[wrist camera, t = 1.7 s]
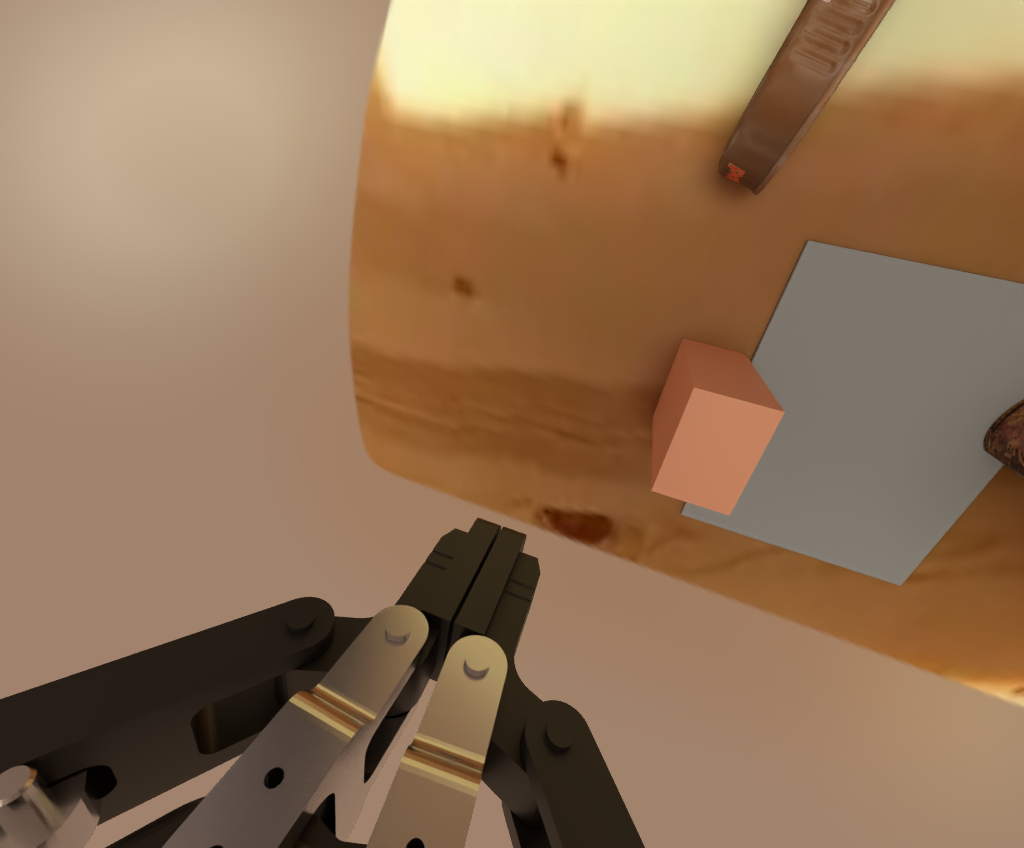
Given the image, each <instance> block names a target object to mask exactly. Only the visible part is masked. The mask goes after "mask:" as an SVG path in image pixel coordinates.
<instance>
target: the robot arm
mask: <svg viewBox="0 0 1024 848" xmlns="http://www.w3.org/2000/svg"><path fill="white" fill-rule="evenodd" d="M525 540H526V534H523V533H520V532H517V531H515V530H512V529H509V528H506V527H503V528H502V530H501V526H500V525H497V524H495V523H492V522H489V521H486V520H483V519H480V518H477V519H476V521H475V522H474V524H473V526H472V527H471V529H470V531H469V532H468V533H467V532H464V531H461V530H459V529H454V530H452V531H451V532H449V533H447V534H446V535H444V536H443V537H441V539H440V540H439V542H438V543H437V545H436V546H435V547H434V549H433V551H432V552H431V553H430V555H429V556H428V558H427V559H426V562H425V563H424V564H423V565H422V566H421V568H420V569H419V571H418V572H417V574H416V576H415V577H414V578H413V580H412V581H411V583H410V584H409V586H408V587H407V589H406V590H405V591H404V593H403V594H402V596H401V597H400V599H399V600H398V602H397V603H396V604H395V605H394V606H391V607H388V608H385V609H383V610H381V611H380V612H379V613H377V614H376V615H375V616H374V617H370V618H349V617H335V616H334V611H333V609H332V607H331V606H330V604H329V603H327V602H326V601H324V600H322V599H320V598H316V597H303V598H298V599H294V600H291V601H288V602H286V603H283V604H280V605H277V606H274V607H271V608H268V609H265V610H262V611H259V612H256V613H253V614H250V615H247V616H244V617H241V618H238V619H235V620H233V621H230V622H227V623H224V624H221V625H218V626H215V627H212V628H209V629H206V630H203V631H200V632H198V633H194V634H191V635H188V636H185V637H182V638H180V639H177V640H174V641H171V642H168V643H165V644H162V645H159V646H156V647H153V648H150V649H147V650H144V651H141V652H138V653H135V654H132V655H130V656H127V657H124V658H121V659H118V660H115V661H112V662H109V663H106V664H103V665H100V666H97V667H95V668H91V669H88V670H86V671H82V672H80V673H76V674H74V675H71V676H68V677H65V678H62V679H59V680H56V681H53V682H50V683H47V684H44V685H41V686H39V687H35V688H32V689H29V690H26V691H23V692H21V693H18V694H15V695H12V696H9V697H6V698H3V699H0V848H83V847H84V846H85V845H86V843H87V842H88V841H89V839H90V838H91V836H92V834H93V832H94V830H95V828H96V826H98V825H99V824H102V823H104V822H105V821H108V820H110V819H112V818H113V817H116V816H118V815H120V814H121V813H124V812H126V811H128V810H130V809H132V808H134V807H136V806H138V805H140V804H142V803H144V802H146V801H148V800H150V799H152V798H154V797H156V796H158V795H160V794H162V793H164V792H166V791H168V790H170V789H172V788H174V787H176V786H178V785H180V784H182V783H184V782H186V781H188V780H190V779H192V778H194V777H196V776H198V775H200V774H202V773H204V772H206V771H209V770H211V769H213V768H214V767H217V766H219V765H221V764H223V763H225V762H227V761H229V760H231V759H232V758H235V757H237V756H239V755H241V754H242V755H241V756H240V757H239V758H238V760H237V761H236V762H235V763H234V764H233V766H232V767H231V768H230V769H229V770H228V771H227V772H226V774H225V775H224V776H223V777H222V778H221V779H220V781H219V782H218V783H217V784H216V785H215V786H214V787H213V789H212V790H211V791H210V792H209V793H208V794H207V796H205V797H202V798H199V799H197V800H194V801H192V802H189V803H187V804H185V805H183V806H181V807H179V808H177V809H175V810H173V811H171V812H169V813H167V814H166V815H164V816H162V817H160V818H158V819H156V820H155V821H153V822H151V823H149V824H147V825H146V826H144V827H142V828H140V829H139V830H137V831H135V832H133V833H131V834H129V835H127V836H126V837H124V838H122V839H120V840H118V841H117V842H115V843H113V844H111V845H110V846H107V847H106V848H464V846H465V842H466V838H467V834H468V830H469V826H470V822H471V818H472V814H473V810H474V806H475V802H476V797H477V793H478V789H479V785H480V781H481V779H482V780H483V781H484V782H485V784H486V785H487V786H488V787H489V788H490V789H491V790H492V791H493V792H494V793H495V794H496V795H497V796H498V797H499V798H500V799H501V800H502V808H503V812H504V816H505V819H506V823H507V827H508V830H509V834H510V837H511V841H512V844H513V848H645V847H644V845H643V842H642V840H641V838H640V836H639V834H638V832H637V829H636V827H635V825H634V823H633V821H632V819H631V817H630V815H629V812H628V810H627V808H626V806H625V804H624V802H623V800H622V798H621V795H620V793H619V791H618V789H617V787H616V785H615V782H614V780H613V778H612V776H611V774H610V772H609V770H608V768H607V765H606V763H605V761H604V759H603V757H602V755H601V752H600V750H599V748H598V746H597V744H596V742H595V740H594V738H593V735H592V733H591V731H590V729H589V727H588V725H587V723H586V721H585V719H584V718H583V717H582V715H581V714H580V713H579V712H578V711H577V710H576V709H574V708H573V707H572V706H570V705H568V704H567V703H564V702H561V701H556V700H549V701H544V702H543V701H542V700H540V699H539V698H538V697H537V696H536V695H535V694H533V693H532V692H531V691H530V690H529V689H528V688H527V687H526V686H525V685H524V684H523V682H522V681H521V679H520V678H519V676H518V674H517V671H516V668H515V664H514V656H515V653H516V649H517V646H518V643H519V640H520V637H521V634H522V631H523V628H524V625H525V622H526V619H527V616H528V613H529V610H530V606H531V603H532V600H533V596H534V593H535V589H536V586H537V582H538V579H539V576H540V569H539V563H538V558H536V557H533V556H530V555H528V554H525V553H522V552H523V547H524V544H525ZM429 679H432V680H435V681H437V683H436V685H435V688H434V690H433V693H432V696H431V698H430V701H429V703H428V706H427V708H426V711H425V713H424V716H423V718H422V721H421V724H420V726H419V728H418V731H417V733H416V736H415V738H414V740H413V742H412V744H411V745H409V746H408V748H407V750H406V752H405V754H404V756H403V758H402V760H401V763H400V765H399V767H398V770H397V772H396V775H395V777H394V780H393V782H392V785H391V787H390V790H389V792H388V795H387V797H386V800H385V802H384V805H383V807H382V810H381V812H380V815H379V817H378V820H377V822H376V824H375V827H374V830H373V832H372V834H371V837H370V839H369V842H368V844H367V845H366V844H357V843H350V842H346V841H347V839H348V837H349V836H350V834H351V832H352V830H353V828H354V826H355V824H356V822H357V819H358V817H359V815H360V813H361V810H362V807H363V804H364V801H365V799H366V797H367V794H368V792H369V790H370V788H371V786H372V785H373V783H374V781H375V779H376V778H377V776H378V774H379V773H380V771H381V769H382V767H383V766H384V764H385V762H386V760H387V759H388V757H389V755H390V754H391V752H392V750H393V748H394V747H395V745H396V743H397V741H398V740H399V738H400V736H401V735H402V733H403V731H404V729H405V728H406V726H407V724H408V722H409V721H410V719H411V717H412V716H413V714H414V712H415V710H416V708H417V705H418V702H419V699H420V697H421V695H422V693H423V691H424V689H425V687H426V685H427V683H428V681H429ZM277 785H278V786H277Z"/></svg>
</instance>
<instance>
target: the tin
mask: <svg viewBox="0 0 1024 848" xmlns="http://www.w3.org/2000/svg"><path fill="white" fill-rule="evenodd" d="M894 2H895V0H808V1H807V3H806V5H805V7H804V8H803V10H802V12H801V14H800V15H799V17H798V19H797V20H796V22H795V24H794V26H793V27H792V29H791V31H790V33H789V34H788V36H787V38H786V39H785V41H784V43H783V45H782V46H781V48H780V50H779V52H778V53H777V55H776V57H775V58H774V60H773V62H772V64H771V65H770V67H769V69H768V71H767V72H766V74H765V76H764V78H763V79H762V81H761V83H760V85H759V86H758V88H757V90H756V92H755V93H754V95H753V97H752V99H751V101H750V102H749V104H748V106H747V108H746V109H745V111H744V113H743V115H742V116H741V118H740V120H739V122H738V124H737V126H736V128H735V129H734V131H733V133H732V135H731V137H730V139H729V141H728V143H727V145H726V147H725V150H724V153H723V155H722V157H721V159H720V163H719V172H720V173H721V174H722V175H724V176H725V177H727V178H729V179H731V180H733V181H735V182H738V183H740V184H742V185H744V186H746V187H747V188H749V189H751V190H752V191H753V193H754V194H758V193H760V192H761V190H762V189H764V187H765V186H766V185H767V183H768V182H769V181H770V180H771V179H772V177H773V176H774V175H775V174H776V173H777V171H778V170H779V168H780V167H781V166H782V165H783V164H784V162H785V161H786V159H787V158H788V157H789V155H790V154H791V152H792V151H793V150H794V148H795V147H796V145H797V144H798V143H799V141H800V140H801V138H802V137H803V135H804V134H805V133H806V131H807V130H808V129H809V127H810V126H811V124H812V123H813V122H814V120H815V119H816V117H817V116H818V114H819V113H820V112H821V110H822V109H823V107H824V105H825V104H826V103H827V101H828V100H829V99H830V97H831V95H832V94H833V93H834V91H835V90H836V89H837V87H838V85H839V84H840V82H841V81H842V79H843V78H844V76H845V75H846V73H847V72H848V71H849V69H850V68H851V66H852V65H853V63H854V62H855V60H856V59H857V57H858V56H859V54H860V52H861V51H862V49H863V48H864V47H865V45H866V44H867V42H868V41H869V39H870V38H871V36H872V35H873V33H874V32H875V30H876V29H877V27H878V26H879V24H880V23H881V21H882V20H883V18H884V17H885V15H886V14H887V12H888V11H889V9H890V8H891V6H892V5H893V3H894Z"/></svg>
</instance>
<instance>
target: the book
mask: <svg viewBox="0 0 1024 848" xmlns="http://www.w3.org/2000/svg"><path fill="white" fill-rule="evenodd" d="M983 449H984V451H986V452H987V453H989V454H990V455H991V456H993V457H994V458H995V459H997V460H998V461H999V462H1001V463H1002V464H1003V465H1005V466H1006V467H1008V468H1009V469H1010V470H1012V471H1013V472H1014V473H1016V474H1017V475H1018V476H1020V477H1021V478H1022V479H1024V400H1022V401H1020V402H1019V403H1017V404H1016V405H1014V406H1013V407H1011V408H1010V409H1008V410H1007V411H1006V412H1005V413H1004V414H1002V415H1001V416H1000V417H999V418H998V419H997V420H996V421H995V422H994V423H993V424H992V426H991V427H990V428H989V430H988V432H987V433H986V435H985V438H984V442H983Z"/></svg>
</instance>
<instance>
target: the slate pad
mask: <svg viewBox="0 0 1024 848" xmlns="http://www.w3.org/2000/svg"><path fill="white" fill-rule="evenodd" d="M751 363H752V365H753V366H754V368H755V369H756V370H757V372H758V373H759V375H760V376H761V378H762V379H763V381H764V382H765V384H766V385H767V387H768V388H769V389H770V391H771V392H772V394H773V395H774V397H775V398H776V400H777V401H778V403H779V404H780V406H781V407H782V408H783V410H784V411H785V413H784V415H783V417H782V419H781V421H780V422H779V424H778V426H777V428H776V430H775V432H774V434H773V436H772V437H771V439H770V441H769V443H768V445H767V447H766V449H765V450H764V452H763V454H762V456H761V458H760V460H759V462H758V464H757V465H756V467H755V469H754V471H753V473H752V475H751V477H750V479H749V480H748V482H747V484H746V486H745V488H744V490H743V492H742V494H741V495H740V497H739V499H738V501H737V503H736V505H735V507H734V508H733V510H732V512H731V514H730V516H729V515H726V514H723V513H719V512H716V511H713V510H710V509H707V508H704V507H701V506H697V505H694V504H691V503H688V502H685V504H684V506H683V508H682V510H681V515H683V516H687V517H690V518H693V519H696V520H699V521H702V522H705V523H708V524H711V525H714V526H717V527H720V528H724V529H727V530H730V531H733V532H736V533H739V534H742V535H745V536H748V537H751V538H754V539H757V540H761V541H764V542H767V543H770V544H773V545H776V546H779V547H782V548H785V549H788V550H791V551H794V552H798V553H801V554H804V555H807V556H810V557H813V558H816V559H819V560H822V561H825V562H828V563H831V564H834V565H838V566H841V567H844V568H847V569H850V570H853V571H856V572H859V573H862V574H865V575H868V576H871V577H875V578H878V579H881V580H884V581H887V582H890V583H893V584H896V585H899V586H901V585H902V584H903V582H904V581H905V580H906V579H907V578H908V576H909V575H910V574H911V573H912V572H913V571H914V569H915V568H916V567H917V566H918V565H919V564H920V562H921V561H922V560H923V559H924V558H925V557H926V555H927V554H928V553H929V552H930V551H931V549H932V548H933V547H934V546H935V545H936V544H937V542H938V541H939V540H940V539H941V538H942V537H943V535H944V534H945V533H946V532H947V531H948V530H949V528H950V527H951V526H952V525H953V524H954V522H955V521H956V520H957V519H958V518H959V517H960V515H961V514H962V513H963V512H964V511H965V510H966V508H967V507H968V506H969V505H970V504H971V503H972V501H973V500H974V499H975V498H976V497H977V495H978V494H979V493H980V492H981V491H982V490H983V488H984V487H985V486H986V485H987V484H988V483H989V481H990V480H991V479H992V478H993V477H994V476H995V474H996V473H997V472H998V471H999V470H1000V468H1001V467H1002V466H1003V464H1002V463H1001V462H999V461H998V460H997V459H995V458H994V457H993V456H991V455H990V454H989V453H987V452H986V451H984V449H983V442H984V438H985V435H986V433H987V432H988V430H989V428H990V427H991V426H992V424H993V423H994V422H995V421H996V420H997V419H998V418H999V417H1000V416H1001V415H1002V414H1004V413H1005V412H1006V411H1007V410H1008V409H1010V408H1011V407H1013V406H1014V405H1016V404H1017V403H1019V402H1020V401H1022V400H1024V284H1021V283H1017V282H1012V281H1007V280H1002V279H997V278H992V277H987V276H982V275H977V274H972V273H967V272H962V271H957V270H952V269H947V268H942V267H937V266H932V265H927V264H922V263H918V262H913V261H908V260H903V259H898V258H893V257H888V256H883V255H878V254H873V253H868V252H863V251H858V250H853V249H848V248H843V247H838V246H833V245H828V244H824V243H819V242H814V241H809V240H807V241H806V243H805V246H804V248H803V250H802V252H801V254H800V256H799V258H798V261H797V263H796V265H795V267H794V269H793V271H792V274H791V276H790V278H789V280H788V282H787V284H786V286H785V289H784V291H783V293H782V295H781V297H780V299H779V301H778V304H777V306H776V308H775V310H774V312H773V314H772V317H771V319H770V321H769V323H768V325H767V327H766V329H765V332H764V334H763V336H762V338H761V340H760V342H759V345H758V347H757V349H756V351H755V353H754V355H753V357H752V360H751Z"/></svg>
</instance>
